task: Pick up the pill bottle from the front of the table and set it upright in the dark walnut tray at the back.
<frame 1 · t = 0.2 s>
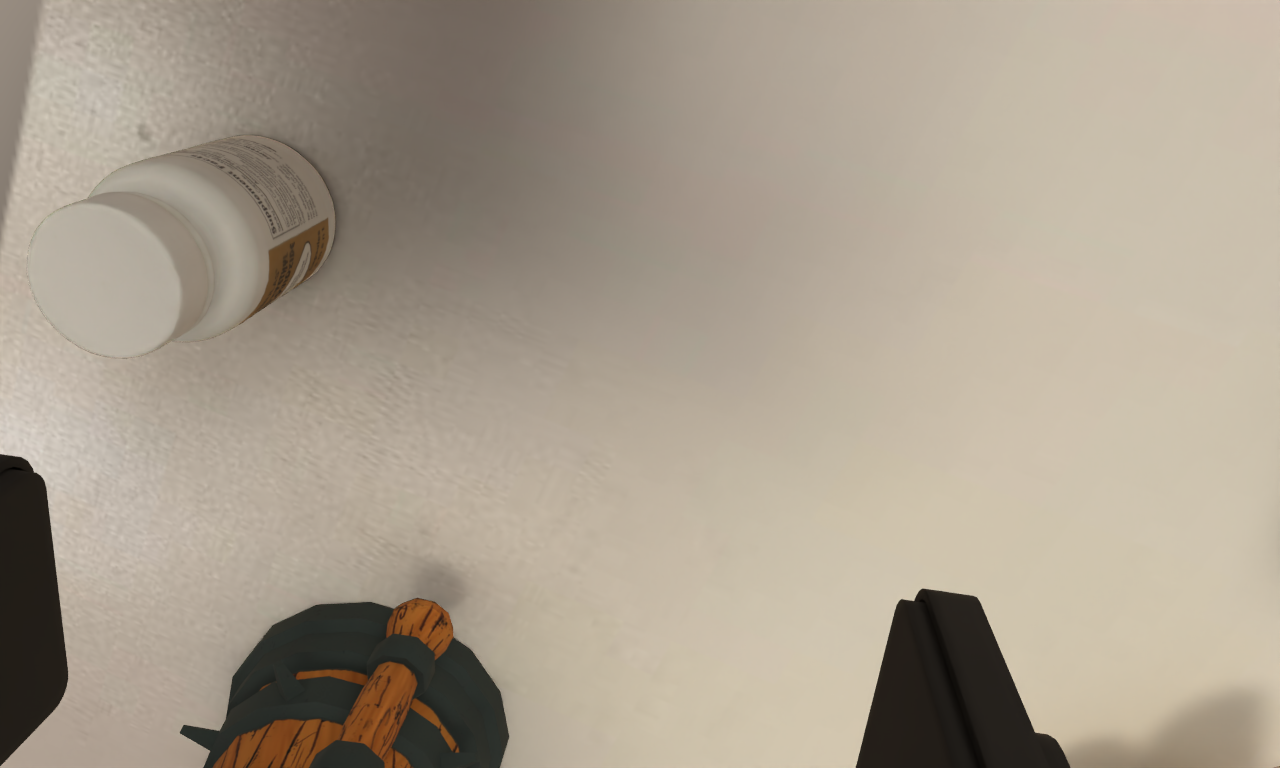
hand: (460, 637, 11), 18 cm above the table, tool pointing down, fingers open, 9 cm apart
pill bottle: (267, 211, 28), on the table
mug: (389, 686, 34), on the table
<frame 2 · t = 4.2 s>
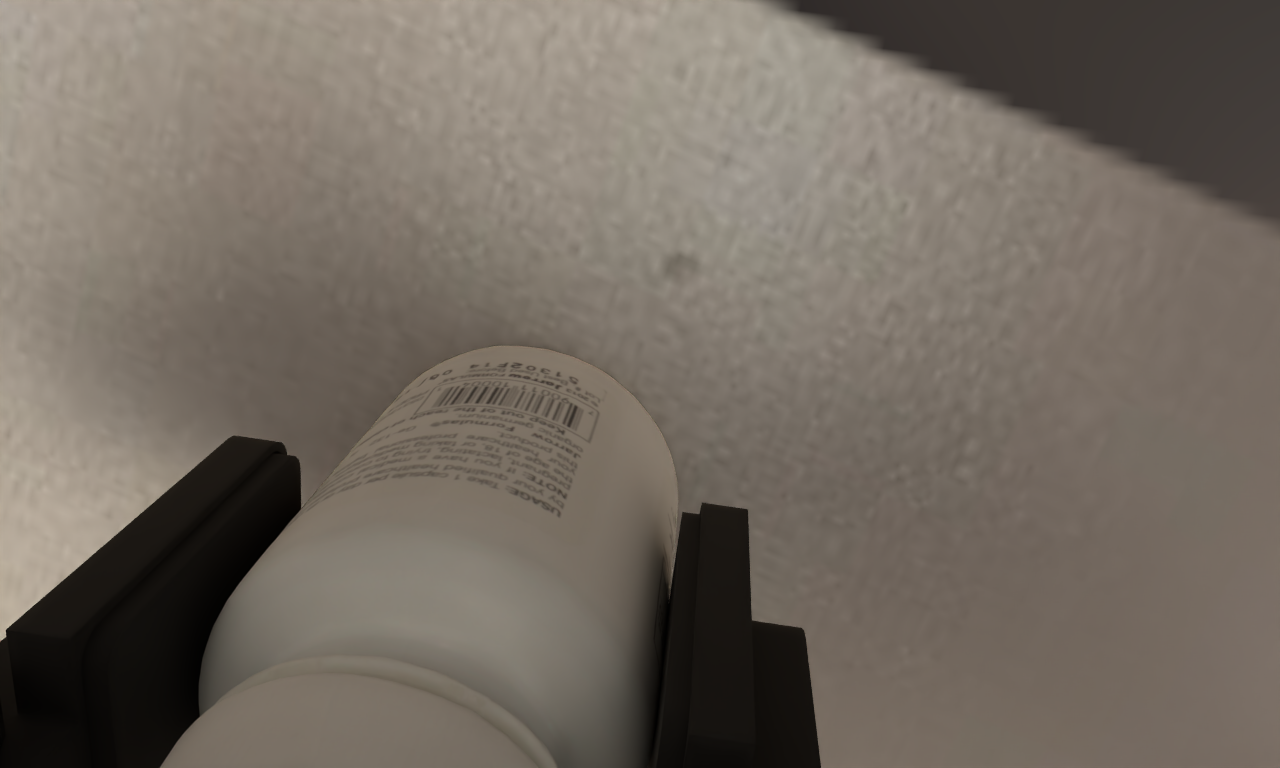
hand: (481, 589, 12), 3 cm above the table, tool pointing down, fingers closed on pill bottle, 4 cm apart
pill bottle: (529, 477, 14), on the table, touching gripper
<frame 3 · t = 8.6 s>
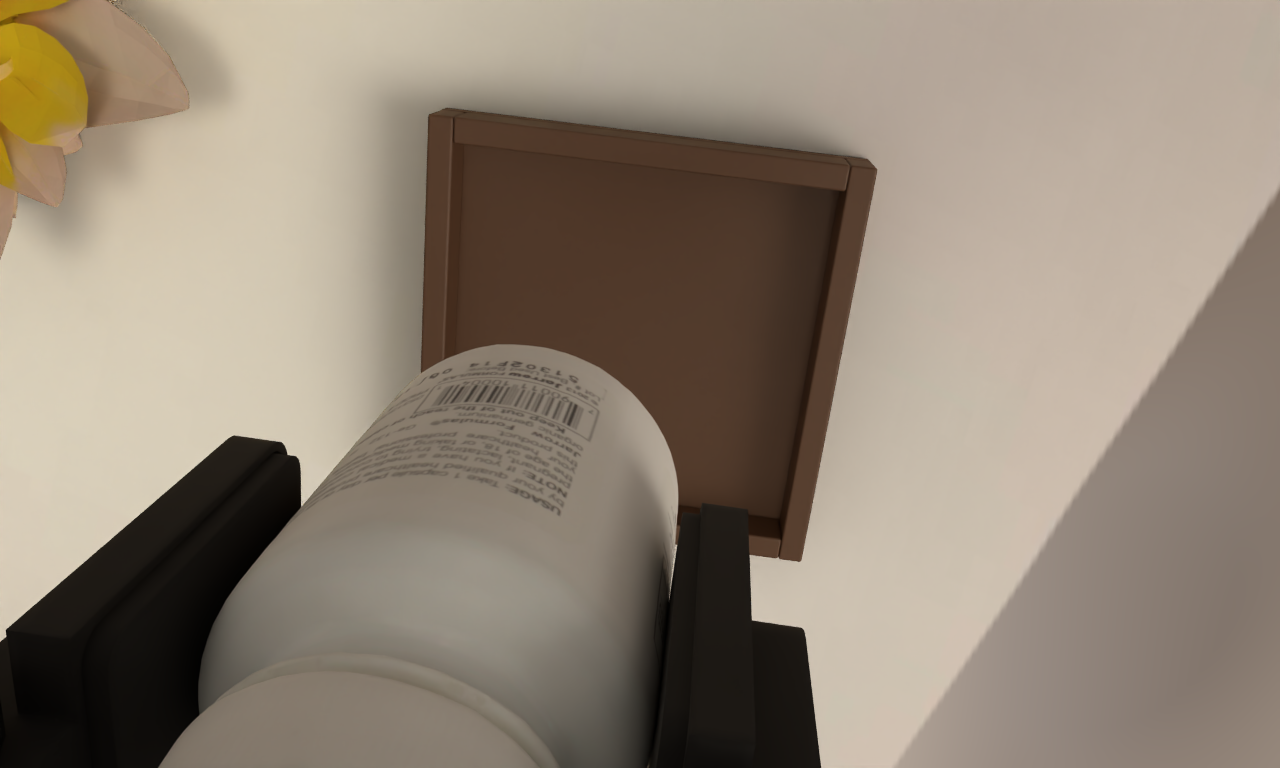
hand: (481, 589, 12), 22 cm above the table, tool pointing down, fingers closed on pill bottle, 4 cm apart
decorative flower: (16, 16, 32), on the table
pill bottle: (529, 476, 14), point 19 cm above the table, touching gripper
tray: (632, 334, 34), on the table
when the fingers open (3 cm above the table, at t = 13.4 s): pill bottle stays where it is, resting on tray.
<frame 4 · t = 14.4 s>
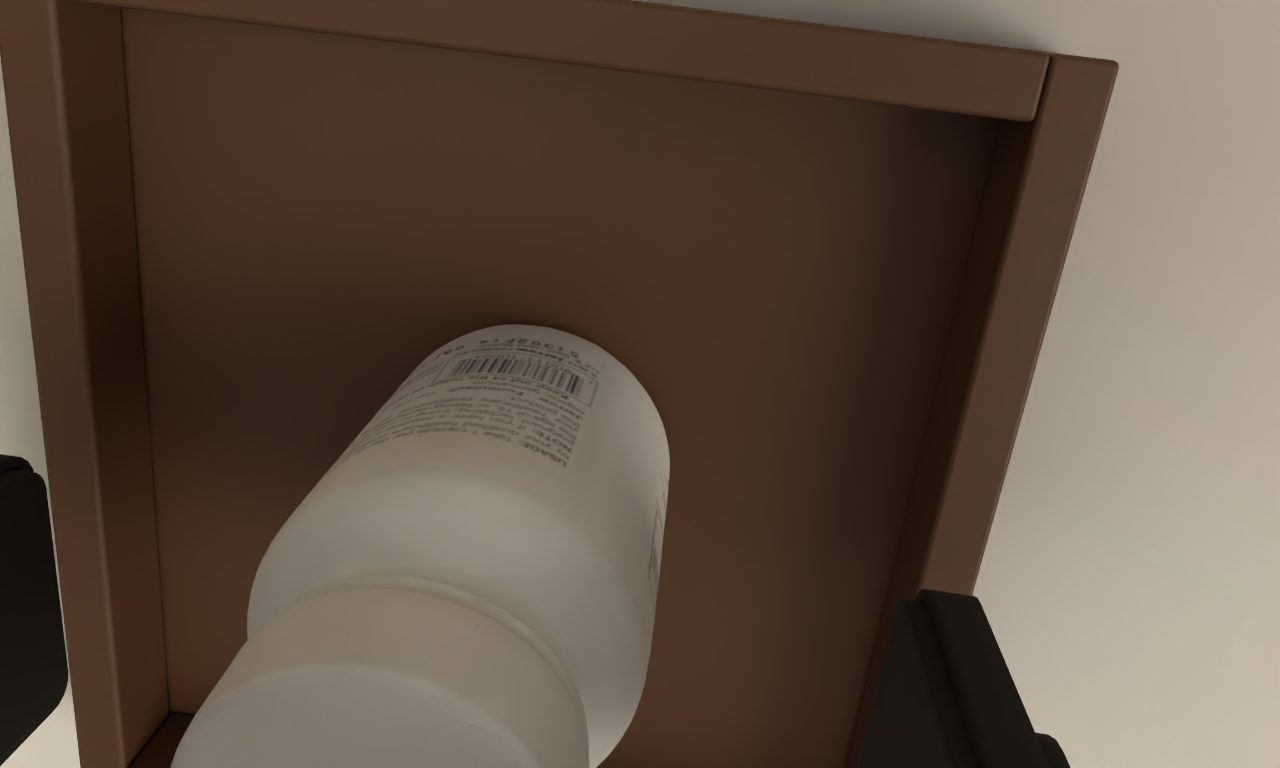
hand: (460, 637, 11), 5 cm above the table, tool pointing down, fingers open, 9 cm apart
pill bottle: (532, 447, 16), resting on tray
tray: (529, 443, 16), on the table
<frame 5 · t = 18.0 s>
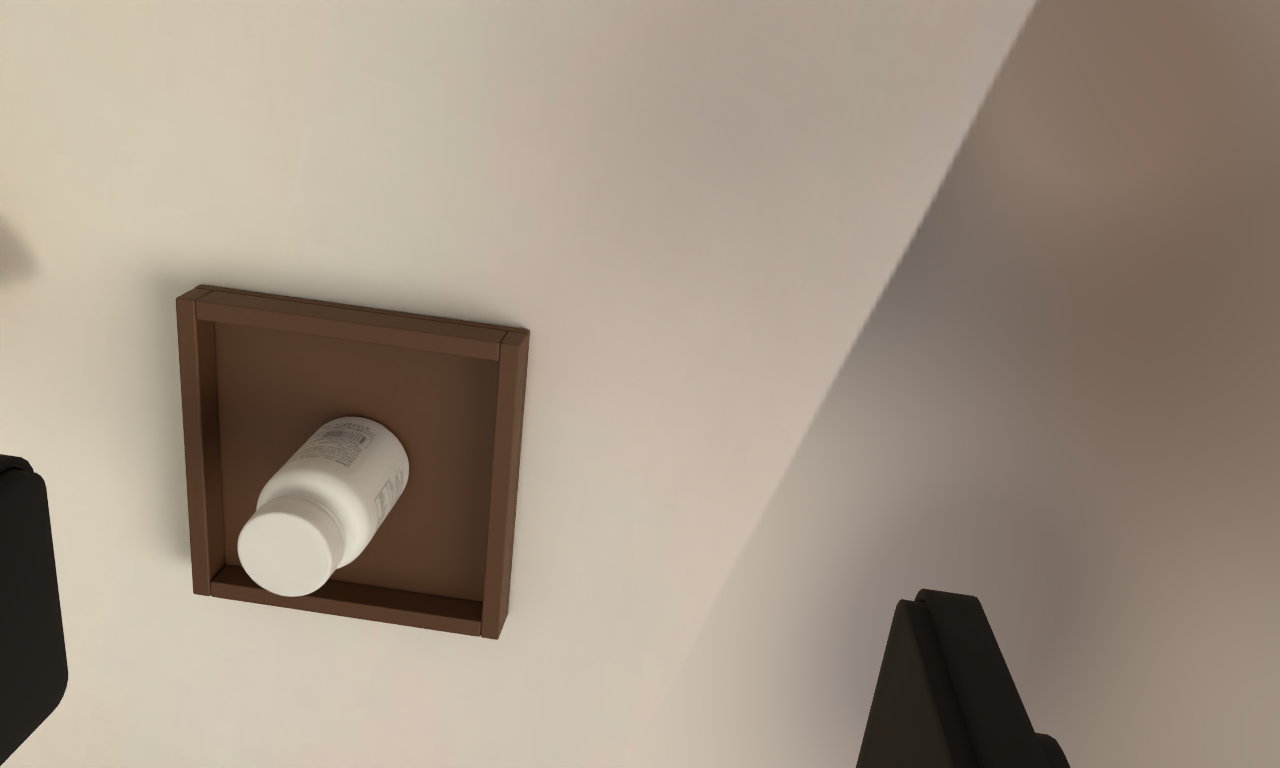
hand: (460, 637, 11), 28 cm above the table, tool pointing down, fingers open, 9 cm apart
pill bottle: (362, 459, 42), resting on tray
tray: (362, 457, 42), on the table
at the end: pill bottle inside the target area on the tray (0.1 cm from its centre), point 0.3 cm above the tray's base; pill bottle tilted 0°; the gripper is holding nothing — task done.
